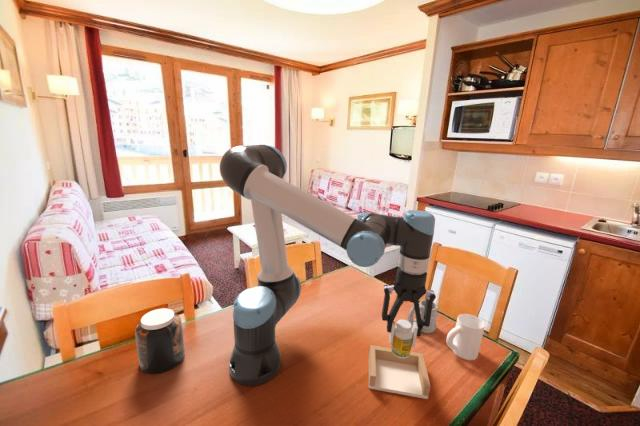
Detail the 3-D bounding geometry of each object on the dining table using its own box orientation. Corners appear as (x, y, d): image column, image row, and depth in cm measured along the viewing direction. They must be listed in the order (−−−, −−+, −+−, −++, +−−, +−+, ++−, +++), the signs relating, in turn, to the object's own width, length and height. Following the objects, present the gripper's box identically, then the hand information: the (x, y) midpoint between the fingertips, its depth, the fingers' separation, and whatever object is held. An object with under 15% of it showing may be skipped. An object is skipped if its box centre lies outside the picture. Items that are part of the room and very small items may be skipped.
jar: (150, 382, 78) (144, 336, 74) (133, 360, 85) (126, 317, 81) (191, 357, 87) (188, 315, 83) (172, 339, 94) (168, 300, 90)
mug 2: (436, 345, 97) (441, 315, 94) (464, 341, 100) (471, 311, 97) (452, 364, 90) (459, 332, 87) (483, 358, 93) (490, 327, 90)
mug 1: (440, 332, 104) (445, 304, 101) (412, 337, 101) (416, 307, 98) (427, 319, 111) (432, 292, 108) (400, 323, 108) (404, 295, 105)
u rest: (368, 388, 80) (370, 375, 78) (368, 356, 91) (370, 345, 90) (428, 399, 77) (430, 386, 76) (420, 365, 89) (422, 353, 87)
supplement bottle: (399, 343, 85) (403, 315, 83) (413, 354, 81) (418, 326, 78) (386, 349, 82) (390, 321, 80) (401, 362, 78) (405, 332, 75)
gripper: (377, 271, 72) (369, 346, 79) (453, 280, 70) (438, 357, 76) (376, 259, 80) (369, 329, 86) (445, 266, 77) (432, 338, 83)
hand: (401, 342), depth 81 cm, fingers closed on supplement bottle, 5 cm apart
